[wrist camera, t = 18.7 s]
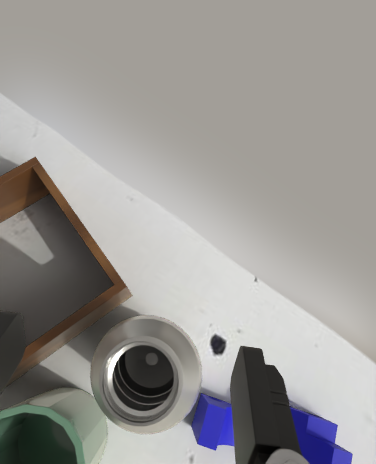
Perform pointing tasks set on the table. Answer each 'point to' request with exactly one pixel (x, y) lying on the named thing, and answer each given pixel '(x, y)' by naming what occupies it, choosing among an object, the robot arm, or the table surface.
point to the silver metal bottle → (146, 374)
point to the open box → (38, 186)
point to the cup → (54, 429)
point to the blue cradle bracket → (307, 425)
